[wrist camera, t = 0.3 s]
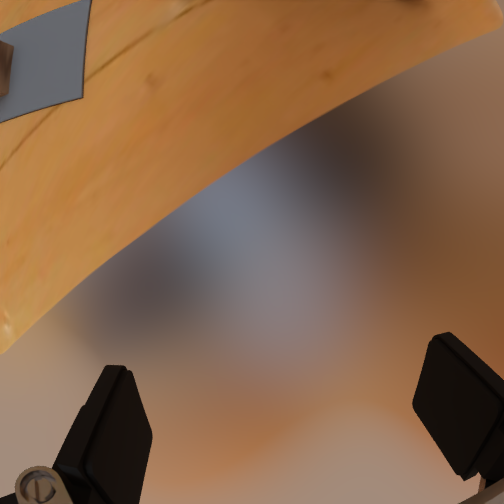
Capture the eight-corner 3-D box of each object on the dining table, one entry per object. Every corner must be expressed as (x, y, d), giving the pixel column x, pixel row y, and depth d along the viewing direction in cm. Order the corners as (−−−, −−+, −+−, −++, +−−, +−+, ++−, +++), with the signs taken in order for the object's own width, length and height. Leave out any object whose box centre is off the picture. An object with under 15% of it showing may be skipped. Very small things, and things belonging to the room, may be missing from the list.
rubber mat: (-10, 40, 27) (-12, 40, 27) (91, -2, 28) (90, -3, 28) (-20, 130, 32) (-22, 130, 31) (83, 97, 33) (81, 97, 32)
